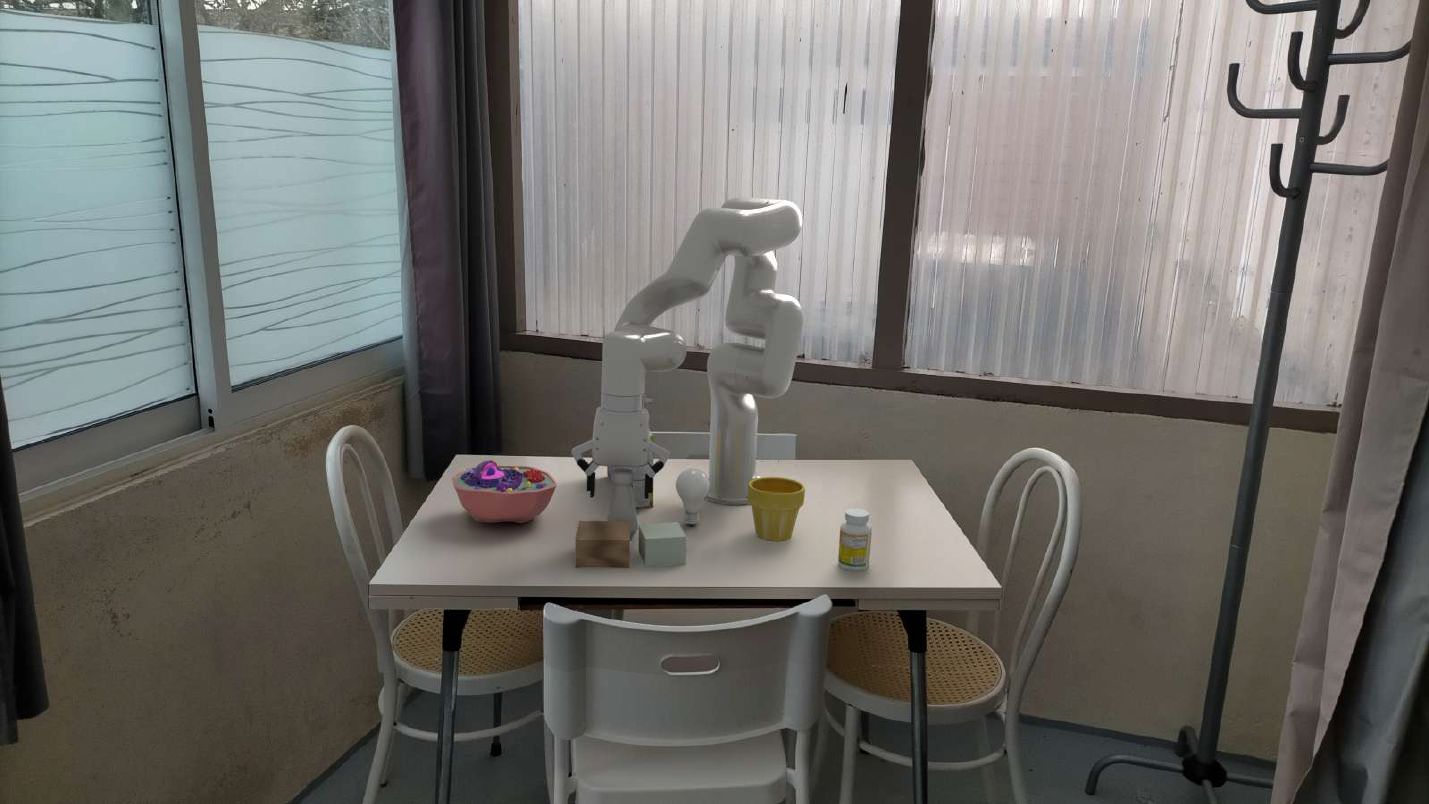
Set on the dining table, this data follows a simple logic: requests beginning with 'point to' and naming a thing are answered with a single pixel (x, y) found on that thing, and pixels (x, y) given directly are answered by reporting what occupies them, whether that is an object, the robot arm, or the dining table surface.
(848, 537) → the supplement bottle
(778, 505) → the plant pot
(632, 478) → the salt shaker
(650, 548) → the sage block
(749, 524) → the dining table surface
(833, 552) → the dining table surface
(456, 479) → the cell model
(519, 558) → the dining table surface
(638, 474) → the snack box
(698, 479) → the lightbulb
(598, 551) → the walnut block
